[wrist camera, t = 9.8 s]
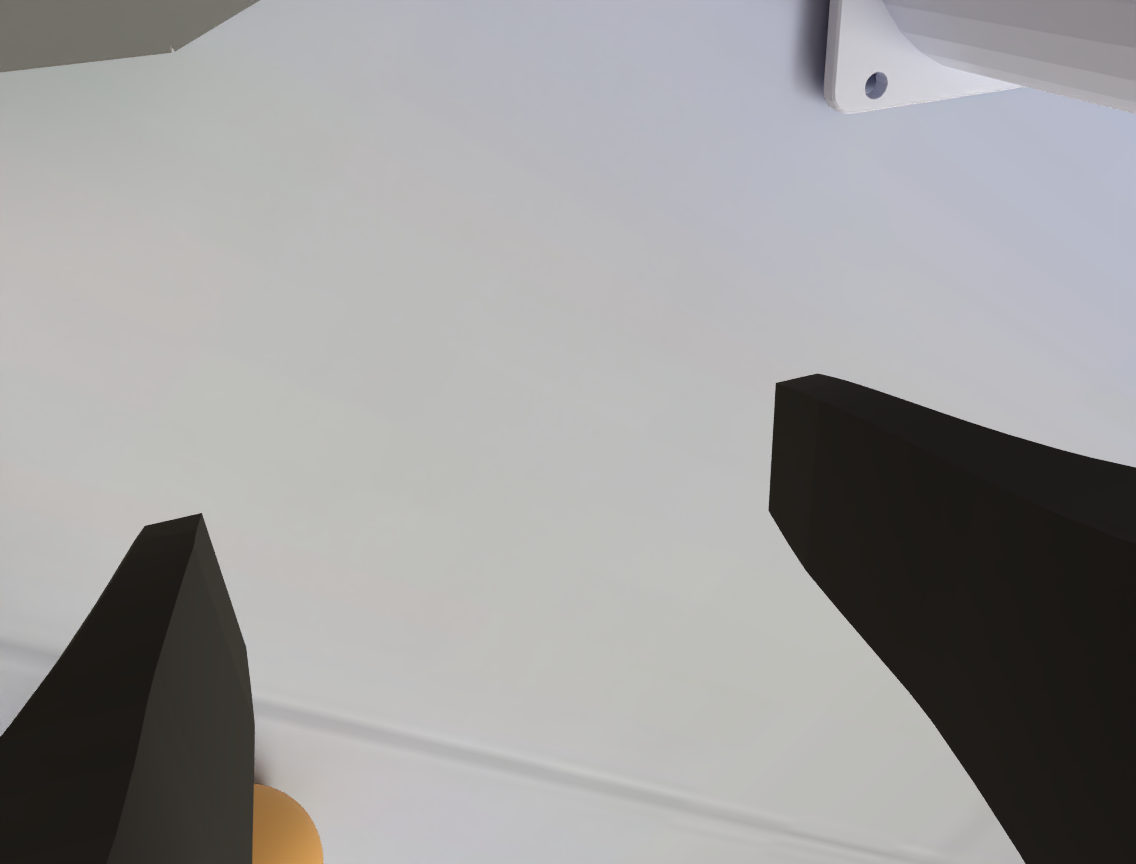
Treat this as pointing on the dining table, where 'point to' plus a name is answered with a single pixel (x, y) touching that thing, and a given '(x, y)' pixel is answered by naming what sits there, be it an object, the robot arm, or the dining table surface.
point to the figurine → (282, 830)
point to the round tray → (102, 28)
